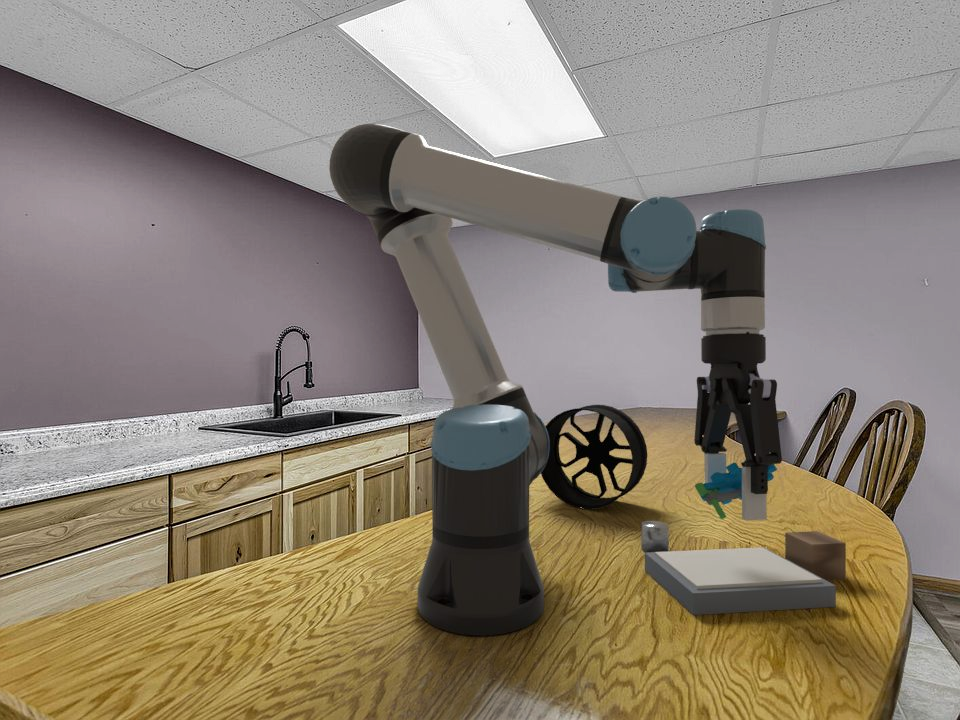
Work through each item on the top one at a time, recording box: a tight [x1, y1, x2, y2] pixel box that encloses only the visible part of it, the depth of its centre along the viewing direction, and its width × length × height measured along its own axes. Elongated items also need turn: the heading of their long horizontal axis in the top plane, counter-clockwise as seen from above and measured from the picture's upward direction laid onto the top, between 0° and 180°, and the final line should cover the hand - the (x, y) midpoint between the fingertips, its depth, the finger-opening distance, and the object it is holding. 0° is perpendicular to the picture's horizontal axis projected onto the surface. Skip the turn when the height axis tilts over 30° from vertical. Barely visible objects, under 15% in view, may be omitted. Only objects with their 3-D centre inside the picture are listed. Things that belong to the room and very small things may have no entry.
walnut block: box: [784, 530, 847, 582], centre depth 73 cm, size 5×5×5 cm
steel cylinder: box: [640, 520, 670, 554], centre depth 82 cm, size 4×4×4 cm
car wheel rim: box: [540, 404, 648, 511], centre depth 108 cm, size 20×10×20 cm, turn 58°
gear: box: [694, 459, 778, 520], centre depth 67 cm, size 11×6×10 cm
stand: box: [644, 547, 837, 616], centre depth 68 cm, size 18×13×3 cm
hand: (733, 509), depth 68 cm, fingers closed on gear, 8 cm apart
